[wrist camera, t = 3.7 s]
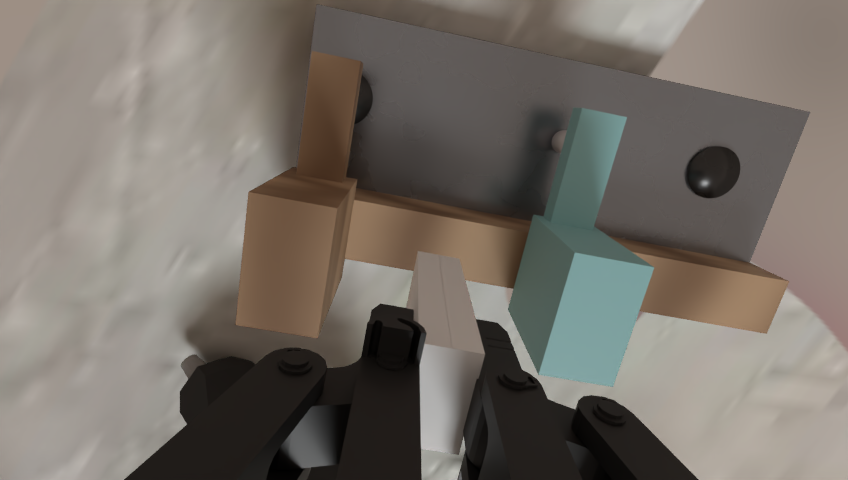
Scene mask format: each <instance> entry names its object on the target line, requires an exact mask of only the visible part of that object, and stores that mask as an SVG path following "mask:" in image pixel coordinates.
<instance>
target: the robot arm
mask: <svg viewBox="0 0 848 480" xmlns="http://www.w3.org/2000/svg"><path fill="white" fill-rule="evenodd" d="M463 436H464V441H465V448H466V450H465V454H464V457H463V461H462V465H461V469H460V472H459V476H458V480H698V479H697V478H696V477H695V476H694V475H693V474H692V473H691V472H690V471H689V470H688V469H687V468H686V467H685V466H684V465H683V464H682V463H681V462H680V461H679V460H678V459H677V458H676V457H675V456H674V455H673V454H672V453H671V451H670V450H669V449H668V448H667V447H666V446H665V445H664V444H663V443H662V442H661V441H660V440H659V439H658V438H657V437H656V436H655V435H654V434H653V433H652V432H651V431H650V430H649V429H648V428H647V427H646V426H645V425H644V424H643V423H642V422H641V421H640V420H639V419H638V418H637V417H636V416H635V415H634V414H633V413H631V412H630V411H629V410H628V409H626V408H625V407H624V406H622V405H620V404H618V403H617V402H616V401H614V400H611V399H607V398H606V397H599V396H592V395H591V396H584V397H582V398H581V399H580V400H579V401H578V404H577V407H576V410H575V409H572V408H569V407H566V406H564V405H561V404H558V403H556V402H553V401H551V400H548V399H547V397H546V394H545V392H544V390H543V387H542V385H541V384H540V383H539V381H538V380H537V379H536V378H535V377H533V376H532V375H531V374H529V373H527V372H525V371H523V370H522V369H521V366H520V364H519V361H518V358H517V356H516V353H515V351H514V348H513V346H512V343H511V340H510V338H509V335H508V333H507V331H505V330H504V329H503V328H502V327H501V326H500V325H499V324H498V323H495V322H489V321H484V320H478V319H476V318H475V315H474V311H473V307H472V303H471V300H470V296H469V292H468V289H467V285H466V281H465V277H464V274H463V270H462V266H461V263H460V259H458V258H453V257H448V256H442V255H437V254H431V253H426V252H420V251H418V253H417V258H416V263H415V268H414V272H413V277H412V282H411V287H410V292H409V297H408V302H407V307H406V308H402V307H396V306H391V305H385V304H379V305H378V306H377V307H375V308H374V309H373V310H372V312H371V316H370V320H369V322H368V323H367V329H366V334H365V340H364V345H363V351H362V356H361V358H360V359H359V360H358V361H357V362H355V363H353V364H351V365H349V366H345V367H339V368H327V365H326V362H325V360H324V359H323V358H322V357H321V356H320V355H319V354H317V353H314V352H312V351H310V350H306V349H301V348H284V349H280V350H275V351H273V352H271V353H270V354H268V355H266V356H265V357H264V358H263V359H262V360H260V361H259V362H258V363H257V364H256V365H255V366H254V367H252V368H251V369H250V370H249V371H248V372H247V373H246V374H244V375H243V376H242V377H241V378H240V379H239V380H238V381H236V382H235V383H234V384H233V385H232V386H231V387H230V388H228V389H227V390H226V391H225V392H224V393H223V394H222V395H220V396H219V397H218V398H217V399H216V400H215V401H214V402H212V403H211V404H210V405H209V406H208V407H207V408H206V409H204V410H203V411H202V412H201V413H200V414H199V415H198V416H196V417H195V418H194V419H193V420H192V421H191V422H190V423H188V424H187V425H186V426H185V427H184V428H183V429H182V430H180V431H179V432H178V433H177V434H176V435H175V436H174V437H172V438H171V439H170V440H169V441H168V442H167V443H166V444H164V445H163V446H162V447H161V448H160V449H159V450H158V451H156V452H155V453H154V454H153V455H152V456H151V457H150V458H148V459H147V460H146V461H145V462H144V463H143V464H142V465H140V466H139V467H138V468H137V469H136V470H135V471H134V472H132V473H131V474H130V475H129V476H128V477H127V478H126V479H124V480H307V478H308V476H309V473H310V470H311V467H319V466H328V465H337V464H339V467H338V472H337V477H336V480H421V449H425V450H432V451H438V452H444V453H451V454H457V455H459V452H460V448H461V444H462V440H463Z"/></svg>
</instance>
